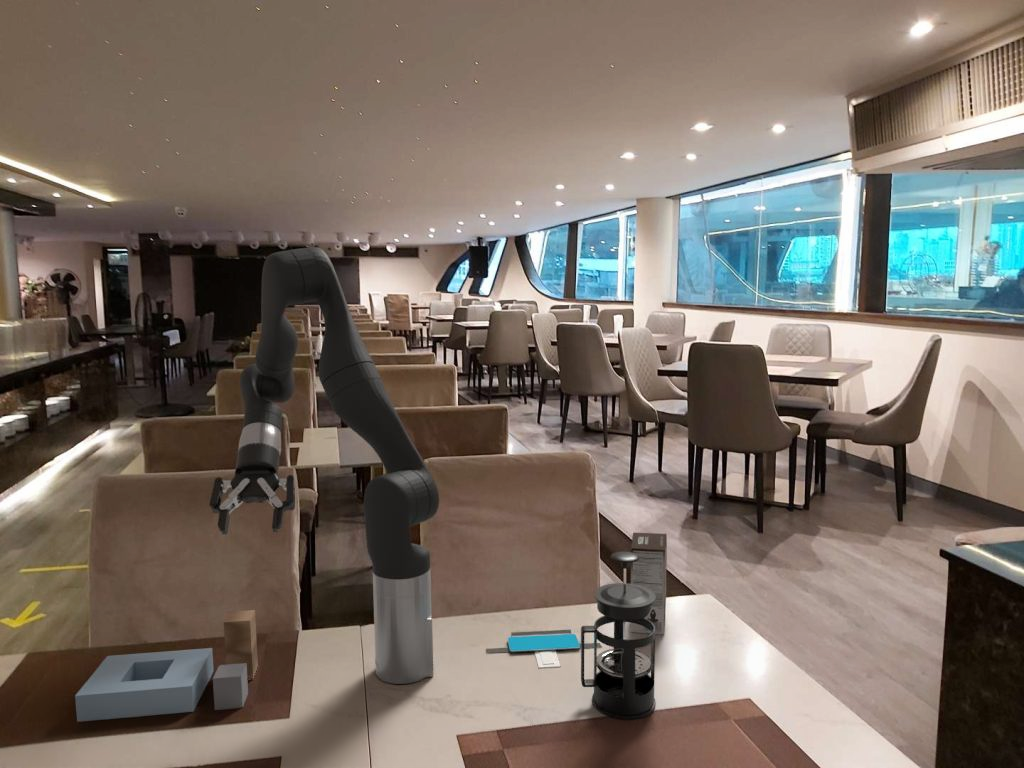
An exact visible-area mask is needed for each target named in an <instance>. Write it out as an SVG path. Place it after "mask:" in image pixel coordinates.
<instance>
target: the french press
mask: <svg viewBox="0 0 1024 768" xmlns="http://www.w3.org/2000/svg"><path fill="white" fill-rule="evenodd" d="M610 559H611V560H613V561H614V562H618V563H621V568H622V569H623V582H616V583H608V584H604V585H602V586H599V587H598V588H596V589H595V590H594V593H593V594H594V595H593V596H594V599H595V600H596V602H597V603H596V604H597V605H596V607H597V611H598V612H599V614H601V615H603V616H600V617H599V618H597V619H596V620H595V621H594V624H593V625H582V626H581V627H580V644H581V649H580V683H581V686H582V687H583V688H593V693H592V696H591V697H592V698H591V699H592V701H591V702H592V705H593V707H594V708H595V709H596V710H597V711H598V712H599V713H601V714H602V715H605V716H606V717H609V718H613V719H617V720H623V721H625V720H627V721H628V720H629V721H631V720H632V721H633V720H638V719H639V720H640V719H642V718H645V717H647V716H649V715H651V714H652V713H653V712H654V711H655V709H656V703H657V701H656V698H655V675H656V674H655V666H656V665H655V660H656V656H655V655H656V654H655V653H656V634H655V626H654V624H653V623H652V622H651V621H649V620H648V619H646V618H645V617H646V616H648V614H649V612H650V609H651V606H652V604H653V603H654V602H655V599H656V596H655V594H654V592H652V591H651V590H650V589H648V588H646V587H643V586H640V585H635V584H631V583H627V569H628V568H629V563H630V564H631V562H636V561H638V560H639V559H640V557H639V556H638V555H637V554H635V553H631V551H617V552H613V553H612V554H610ZM611 623H613V637H612V636H609V635H606V634H604V633H602V632H600V631H599V630H598V629H599V628H600V627H602V626H604V625H607V624H611ZM627 623H635V624H639V625H642V626H644V627H646V628H648V629H649V630H650V631H651V632H652V633H651V634H648V635H647V636H644V637H641V638H635V639H626V632H627V631H626V630H627V629H626V627H627V626H626V624H627ZM588 633H591V634H592V633H593V643H594V645H593V646H594V648H593V679H591V678H589V679H586V678H585V649H584V644H585V634H588ZM598 642H599V643H600V644H602V645H605V646H609V647H611V649H610V648H609V649H607V650H604V651H601V652H600V653H599V654H598V653H597V652H598V650H597V649H598V647H597V643H598ZM649 645H650V646H651V647H650V650H651V651H650V657H649V656H648V655H647V654H645V653H643V652H642V651H638V650H636V649H640V648H645V647H647V646H649ZM597 654H598V655H597ZM597 670H599V671H598V672H597ZM614 689H622V696H619V695H615V694H613V693H609V692H608V691H610V690H614ZM636 692H637V693H639V694H640V695H636Z"/></svg>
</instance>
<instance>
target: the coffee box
mask: <svg viewBox="0 0 1024 768" xmlns="http://www.w3.org/2000/svg"><path fill="white" fill-rule="evenodd" d="M667 536H668V535H667V533H658V532H657V533H654V532H633V533H632V539H631V545H630V552H631V553H635V554H637V555H638V556H639V557H640V559H639V560H638V561H636V562H631V563H630V584H635V585H640V586H643V587H646V588H648V589H650V590H651V591H652V592H654V594H655V596H656V599H655V602H654V603H653V604H652V606H651V609H650V612H649V614H648V616H646V617H645V618H646V619H648V620H649V621H651V622H652V623H653V624H654V626H655V635H663V636H664V635H665V631H666V611H667V610H666V608H667V607H666V606H667V605H666V603H667V602H666V601H667V560H668V558H667V557H668V556H667V555H668V553H667V551H668V550H667V548H668V546H667V545H668V544H667V543H668V542H667V541H668V539H667ZM629 623H630V622H629ZM629 627H630V628H629V630H630V632H631V633H638V634H648V635H650V634H651V633H652V632H651V631H650V630H649V629H648V628H646V627H644V626H642V625H639V624H635V623H630V624H629Z"/></svg>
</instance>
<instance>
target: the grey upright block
mask: <svg viewBox="0 0 1024 768" xmlns="http://www.w3.org/2000/svg"><path fill="white" fill-rule="evenodd" d="M248 681H249V680H247V663H241V664H228V665H226V664H219V665H218V667H217V669H216V671H215V673H214V675H213V677H212V689H213V701H214V702H213V703H214V711H217V710H218V711H219V710H220V711H221V710H231V709H241V708H242V707H243V708H244V705H245V702H246V700H247V697H248V696H249V695H248V694H249V687H248V686H249V685H248V684H249V683H248Z"/></svg>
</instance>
